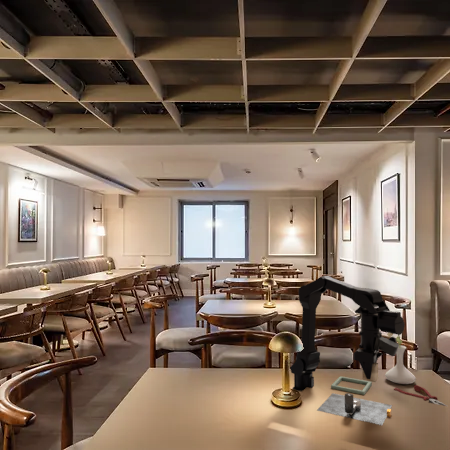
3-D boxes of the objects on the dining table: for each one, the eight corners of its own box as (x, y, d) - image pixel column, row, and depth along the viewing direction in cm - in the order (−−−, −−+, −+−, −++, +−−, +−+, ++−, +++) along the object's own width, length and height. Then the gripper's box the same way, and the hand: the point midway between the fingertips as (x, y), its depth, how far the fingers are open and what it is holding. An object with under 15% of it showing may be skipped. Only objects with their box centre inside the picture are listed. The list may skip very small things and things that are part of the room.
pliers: (435, 416, 128) (435, 408, 128) (391, 394, 147) (391, 386, 147) (463, 412, 131) (463, 404, 131) (416, 390, 150) (416, 383, 150)
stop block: (362, 379, 128) (362, 364, 128) (365, 376, 131) (365, 360, 132) (375, 382, 126) (375, 366, 126) (378, 378, 129) (378, 363, 129)
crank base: (316, 414, 128) (316, 405, 128) (332, 397, 142) (332, 388, 142) (385, 431, 117) (385, 420, 117) (395, 410, 131) (395, 401, 131)
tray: (331, 392, 147) (330, 385, 147) (340, 382, 157) (340, 376, 157) (364, 399, 141) (364, 391, 141) (371, 388, 151) (371, 381, 151)
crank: (350, 403, 132) (350, 385, 133) (361, 406, 130) (361, 387, 131) (342, 414, 124) (342, 395, 124) (354, 417, 122) (353, 397, 122)
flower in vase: (388, 375, 166) (387, 315, 167) (418, 380, 160) (417, 317, 161) (380, 384, 156) (379, 319, 157) (412, 390, 149) (410, 323, 150)
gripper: (391, 338, 117) (391, 391, 117) (401, 326, 133) (401, 373, 132) (352, 333, 123) (352, 383, 123) (367, 322, 139) (367, 367, 138)
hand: (370, 376), depth 129 cm, fingers closed on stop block, 4 cm apart
